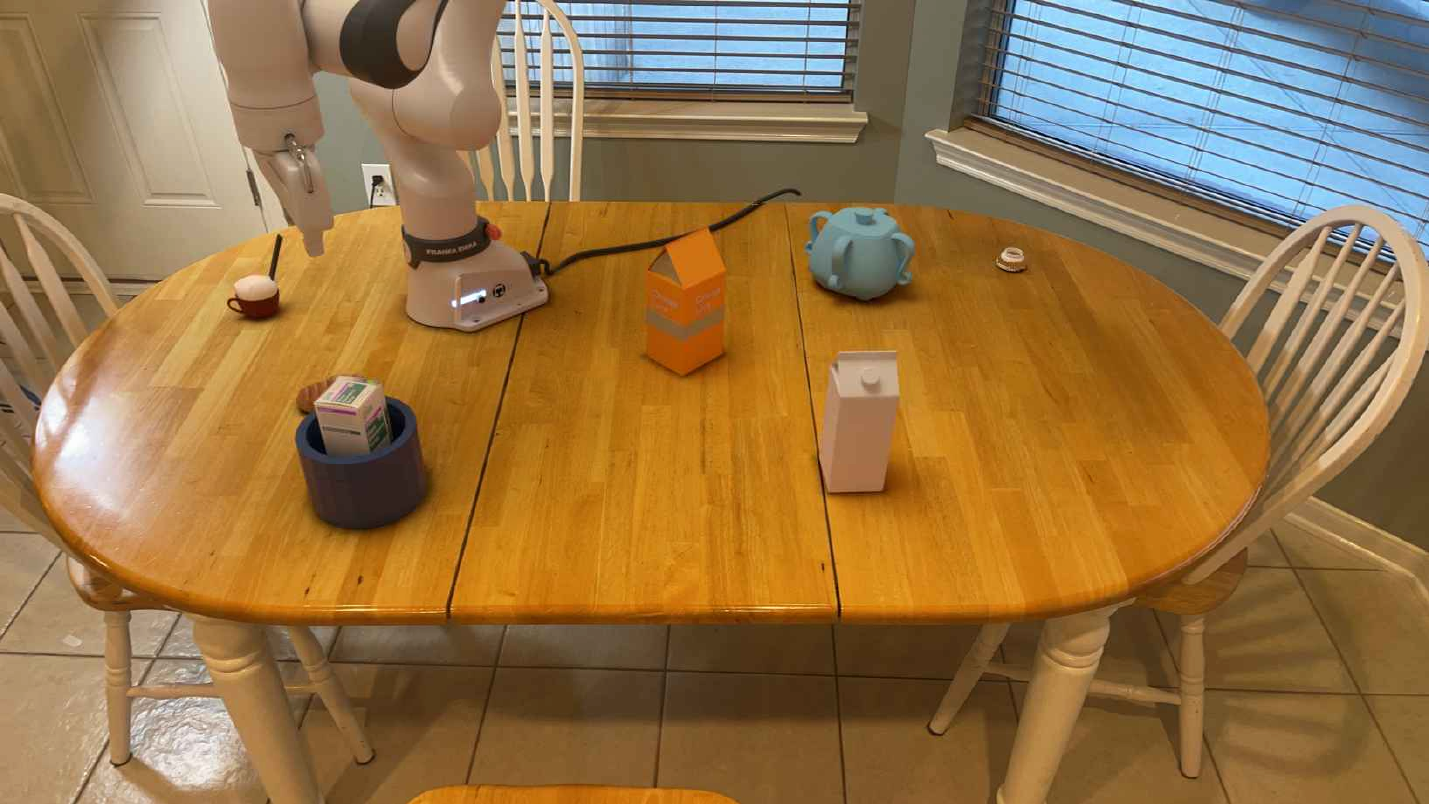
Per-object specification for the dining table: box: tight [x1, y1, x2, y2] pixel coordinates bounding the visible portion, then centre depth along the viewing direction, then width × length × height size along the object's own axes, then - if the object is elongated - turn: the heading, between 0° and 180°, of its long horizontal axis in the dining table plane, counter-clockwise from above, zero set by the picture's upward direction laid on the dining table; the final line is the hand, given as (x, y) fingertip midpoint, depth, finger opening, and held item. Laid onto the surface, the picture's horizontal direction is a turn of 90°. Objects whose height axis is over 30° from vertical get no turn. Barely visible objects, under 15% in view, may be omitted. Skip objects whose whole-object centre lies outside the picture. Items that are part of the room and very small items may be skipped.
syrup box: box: [314, 376, 394, 458], centre depth 121 cm, size 6×6×14 cm
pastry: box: [295, 372, 365, 414], centre depth 140 cm, size 9×7×4 cm
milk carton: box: [818, 350, 900, 493], centre depth 126 cm, size 7×7×19 cm
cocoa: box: [226, 233, 284, 319], centre depth 156 cm, size 10×6×12 cm, turn 104°
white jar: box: [996, 247, 1026, 272], centre depth 180 cm, size 5×3×5 cm
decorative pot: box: [804, 206, 916, 301], centre depth 170 cm, size 16×16×14 cm
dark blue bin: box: [294, 395, 427, 530], centre depth 123 cm, size 14×14×10 cm
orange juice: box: [645, 225, 727, 377], centre depth 148 cm, size 8×9×20 cm
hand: (304, 237), depth 118 cm, fingers open, 8 cm apart
